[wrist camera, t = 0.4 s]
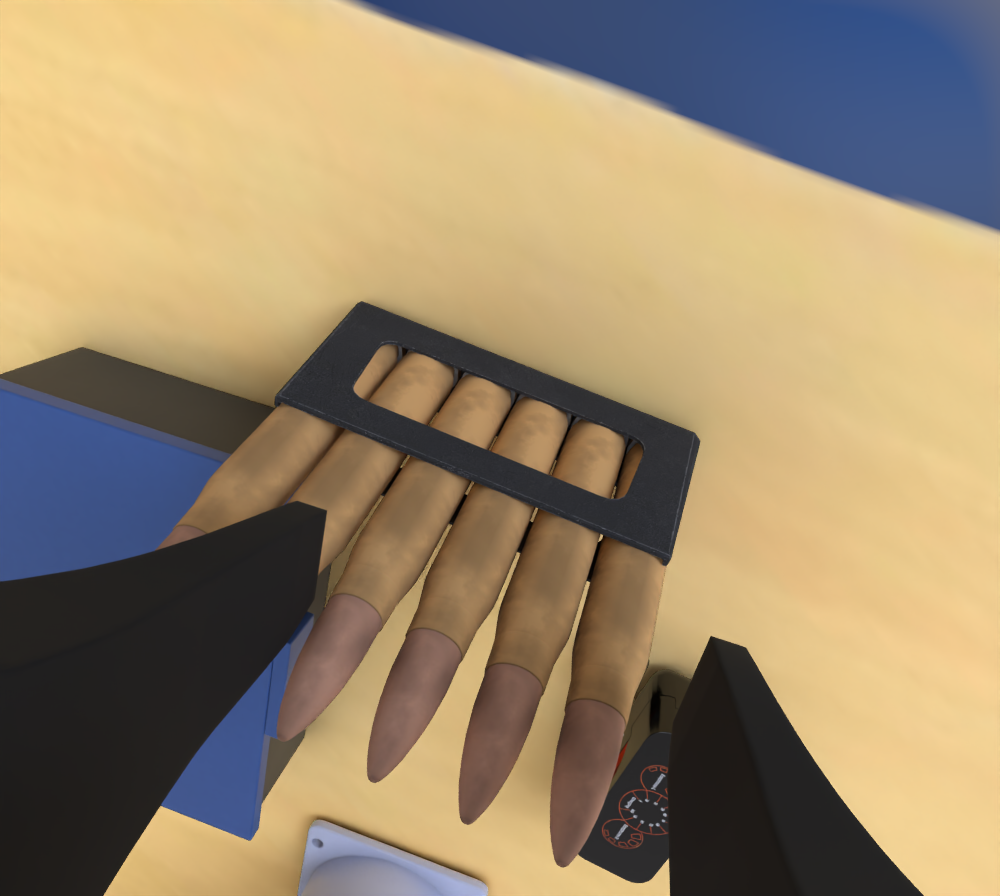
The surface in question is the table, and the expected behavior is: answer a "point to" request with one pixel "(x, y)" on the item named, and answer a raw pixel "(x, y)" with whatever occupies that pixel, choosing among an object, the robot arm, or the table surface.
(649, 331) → the table surface
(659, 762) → the wireless earbuds
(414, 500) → the ammunition clip
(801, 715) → the table surface
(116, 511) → the container
